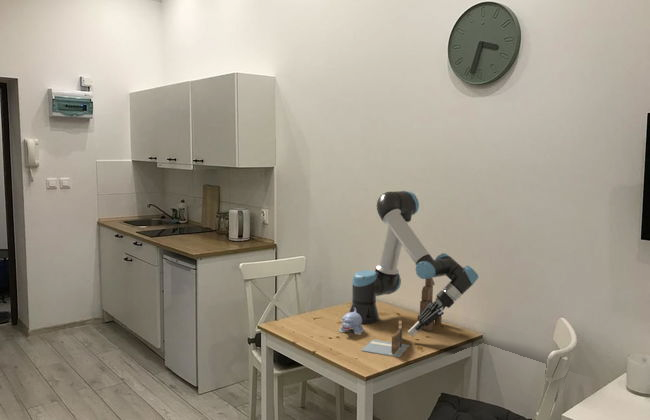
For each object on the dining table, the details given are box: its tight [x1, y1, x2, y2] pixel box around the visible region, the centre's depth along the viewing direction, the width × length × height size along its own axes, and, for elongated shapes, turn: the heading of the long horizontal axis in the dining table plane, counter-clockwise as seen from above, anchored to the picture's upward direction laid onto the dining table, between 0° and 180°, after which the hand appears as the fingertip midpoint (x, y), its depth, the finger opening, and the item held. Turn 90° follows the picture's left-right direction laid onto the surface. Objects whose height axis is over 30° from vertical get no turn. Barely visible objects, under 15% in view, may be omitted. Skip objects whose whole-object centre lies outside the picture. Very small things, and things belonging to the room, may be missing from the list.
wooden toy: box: [416, 278, 443, 332], centre depth 254 cm, size 15×7×25 cm, turn 147°
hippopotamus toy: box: [337, 308, 365, 336], centre depth 244 cm, size 11×15×10 cm
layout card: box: [361, 338, 410, 358], centre depth 223 cm, size 16×15×1 cm
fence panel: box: [398, 319, 403, 330], centre depth 232 cm, size 12×1×7 cm, turn 172°
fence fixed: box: [391, 329, 403, 354], centre depth 220 cm, size 2×11×8 cm, turn 157°
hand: (410, 334), depth 232 cm, fingers closed
